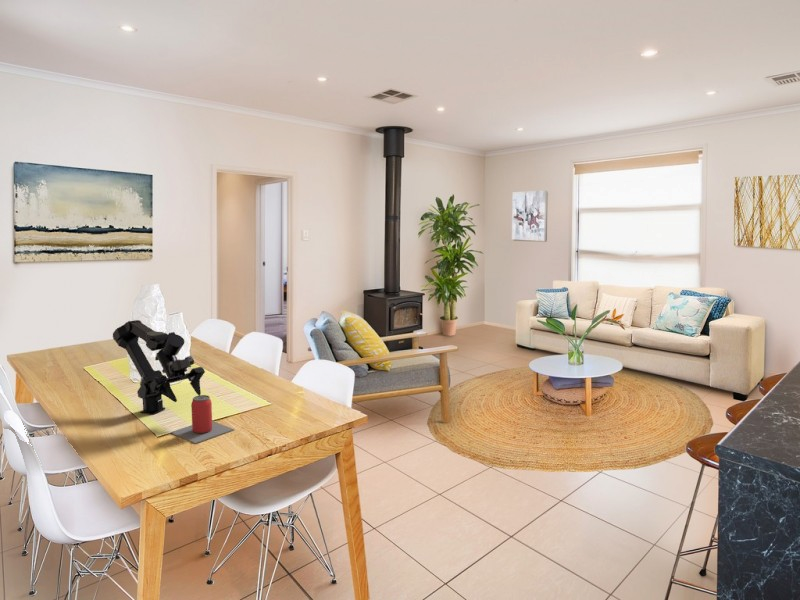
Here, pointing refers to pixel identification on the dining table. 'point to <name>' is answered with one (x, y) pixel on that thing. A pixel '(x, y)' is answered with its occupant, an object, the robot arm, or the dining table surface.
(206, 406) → the beer can
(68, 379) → the dining table surface
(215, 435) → the mat
